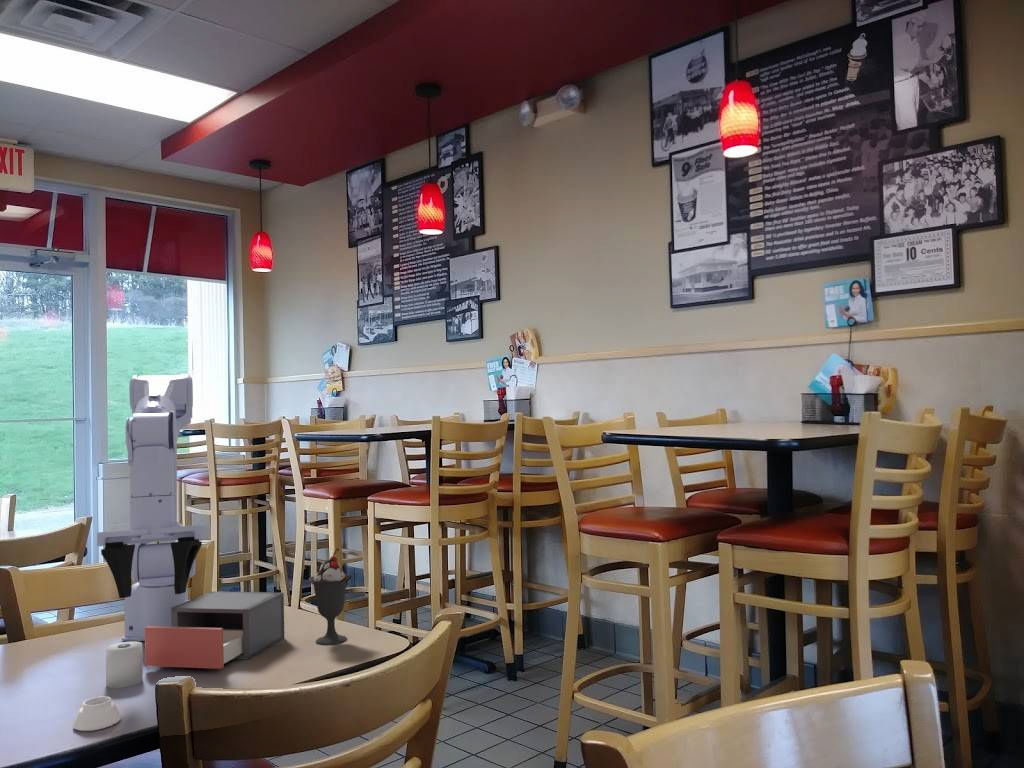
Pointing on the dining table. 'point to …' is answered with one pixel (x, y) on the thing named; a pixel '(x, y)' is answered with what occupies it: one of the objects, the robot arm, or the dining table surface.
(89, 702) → the white jar
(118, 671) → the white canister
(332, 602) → the sundae
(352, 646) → the dining table surface
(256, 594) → the housing
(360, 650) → the dining table surface
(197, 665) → the red drawer
